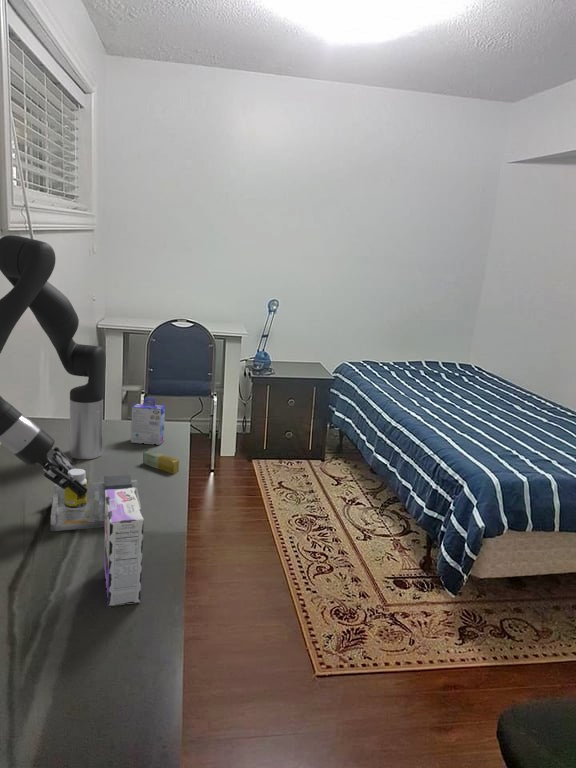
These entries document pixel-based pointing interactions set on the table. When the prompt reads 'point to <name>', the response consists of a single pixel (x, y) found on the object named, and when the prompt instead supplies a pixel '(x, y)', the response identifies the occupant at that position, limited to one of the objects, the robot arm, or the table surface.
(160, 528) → the table surface
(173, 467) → the medication box
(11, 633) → the table surface
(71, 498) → the supplement bottle
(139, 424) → the ink cartridge box
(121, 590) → the candy box
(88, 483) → the rack
